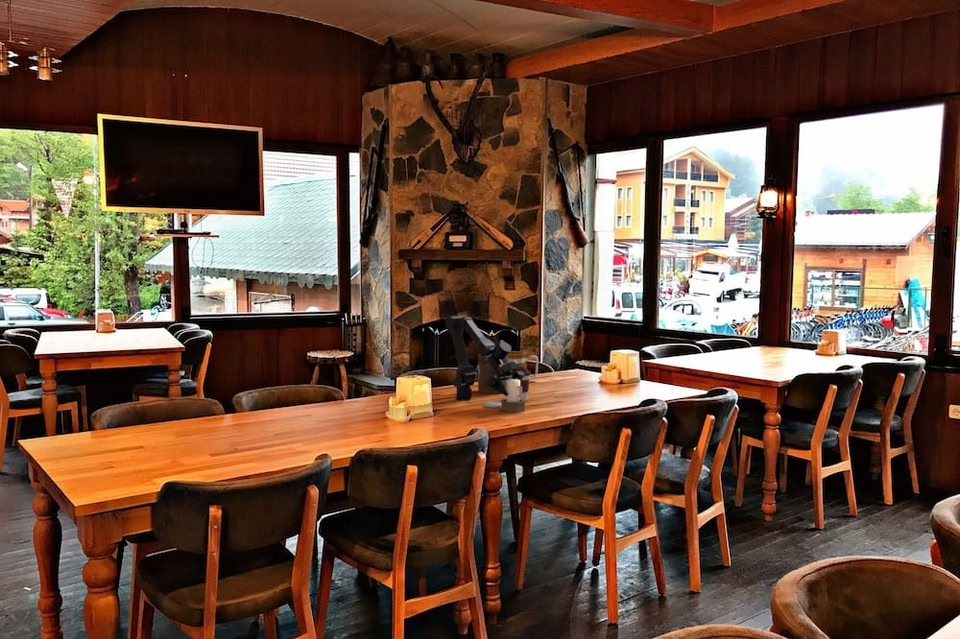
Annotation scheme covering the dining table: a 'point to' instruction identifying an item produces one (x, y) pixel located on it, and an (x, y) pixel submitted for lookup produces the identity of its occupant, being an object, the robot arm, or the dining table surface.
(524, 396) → the coffee cup
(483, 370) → the wooden container
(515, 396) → the jug
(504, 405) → the holder
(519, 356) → the mug
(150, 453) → the dining table surface
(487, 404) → the plate
